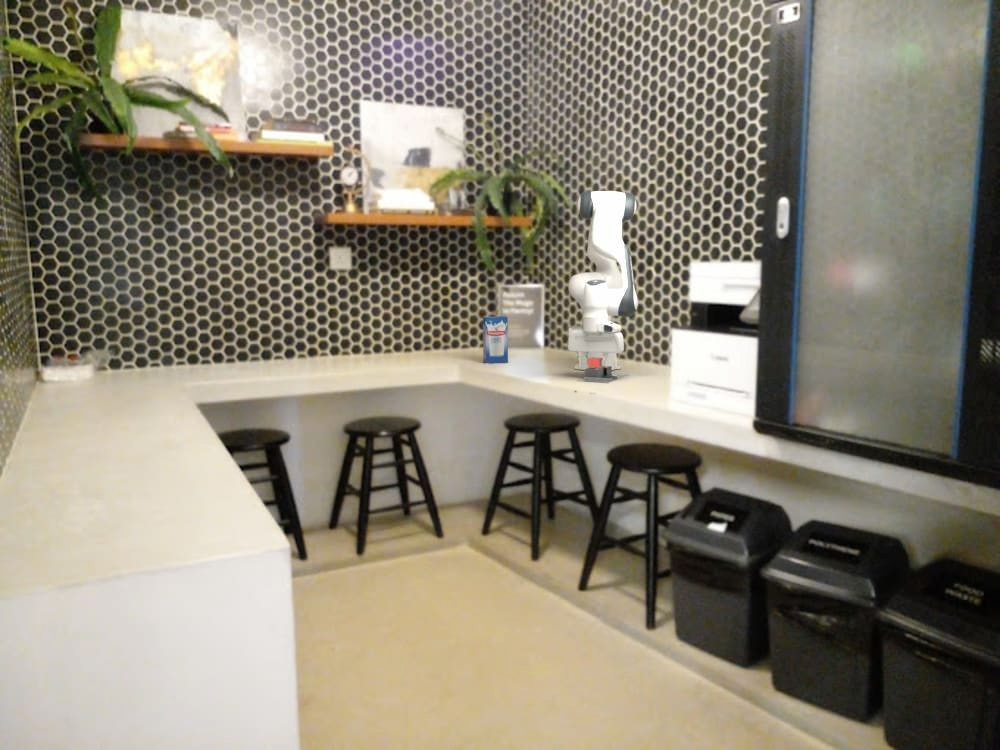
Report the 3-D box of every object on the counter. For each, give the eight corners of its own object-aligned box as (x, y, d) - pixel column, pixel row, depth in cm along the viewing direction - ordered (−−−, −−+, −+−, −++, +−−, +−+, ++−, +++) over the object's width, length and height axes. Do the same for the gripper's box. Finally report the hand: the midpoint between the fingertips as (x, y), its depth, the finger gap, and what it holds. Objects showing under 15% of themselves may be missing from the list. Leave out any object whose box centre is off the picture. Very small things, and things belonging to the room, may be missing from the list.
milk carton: (485, 363, 326) (485, 317, 323) (483, 361, 332) (482, 316, 329) (508, 362, 328) (507, 317, 325) (505, 361, 334) (504, 316, 331)
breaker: (590, 376, 271) (590, 366, 271) (603, 377, 269) (603, 367, 269) (585, 378, 267) (585, 368, 267) (598, 379, 265) (598, 369, 264)
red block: (592, 365, 270) (592, 357, 270) (602, 366, 268) (602, 357, 268) (587, 367, 267) (587, 358, 266) (598, 367, 265) (598, 359, 264)
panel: (598, 377, 282) (598, 363, 282) (628, 379, 277) (628, 365, 276) (575, 385, 263) (575, 370, 263) (607, 387, 258) (607, 372, 257)
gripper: (565, 326, 268) (565, 364, 269) (619, 327, 258) (619, 367, 260) (572, 324, 273) (571, 362, 275) (625, 326, 263) (625, 365, 265)
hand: (595, 365), depth 267 cm, fingers closed on red block, 4 cm apart
